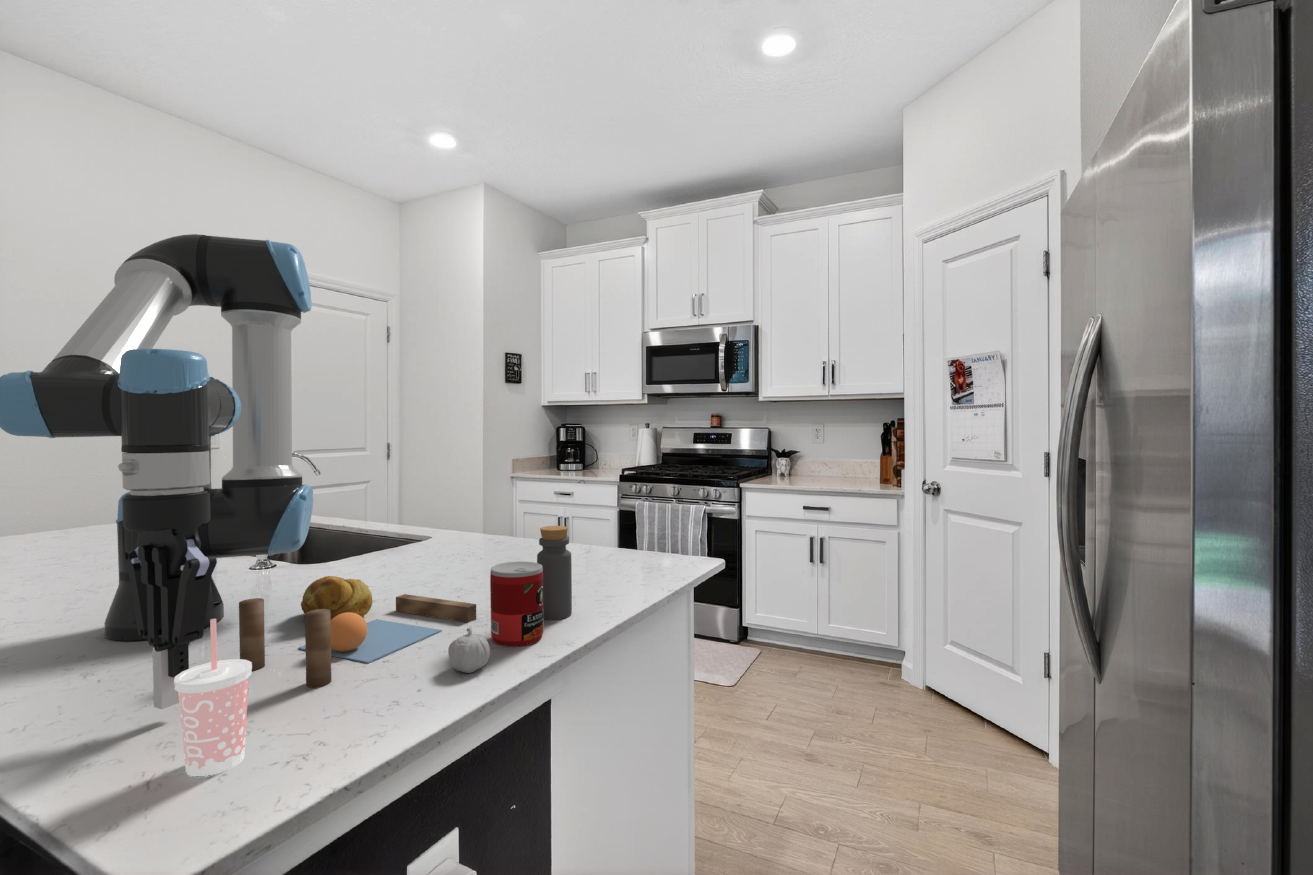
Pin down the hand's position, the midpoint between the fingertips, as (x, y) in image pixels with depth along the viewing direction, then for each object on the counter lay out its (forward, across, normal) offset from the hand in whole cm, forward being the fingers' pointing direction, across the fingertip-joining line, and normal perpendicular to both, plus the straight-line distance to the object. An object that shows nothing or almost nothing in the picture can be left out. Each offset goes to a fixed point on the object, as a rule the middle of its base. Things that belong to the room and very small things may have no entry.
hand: (171, 702), depth 67 cm
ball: (-1, 0, +22) cm, 22 cm away
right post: (+2, +6, +13) cm, 15 cm away
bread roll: (+2, -15, +33) cm, 36 cm away
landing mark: (+2, 0, +27) cm, 27 cm away
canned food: (+2, +20, +36) cm, 41 cm away
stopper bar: (+2, 0, +40) cm, 40 cm away
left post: (+2, -6, +13) cm, 15 cm away
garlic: (+2, +21, +24) cm, 32 cm away
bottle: (+2, +19, +48) cm, 52 cm away
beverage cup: (+2, +14, -4) cm, 14 cm away
